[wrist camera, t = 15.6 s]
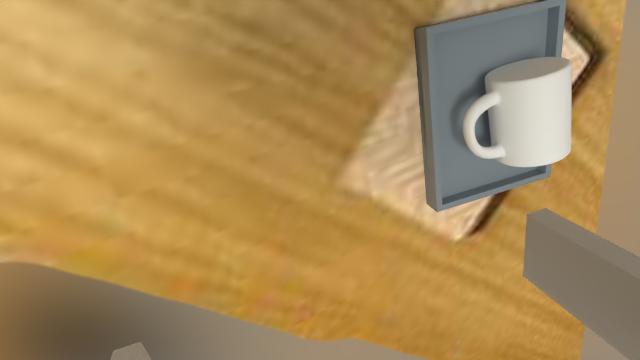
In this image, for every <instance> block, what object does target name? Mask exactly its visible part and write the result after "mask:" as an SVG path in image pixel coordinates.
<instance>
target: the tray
mask: <svg viewBox="0 0 640 360" xmlns="http://www.w3.org/2000/svg"><path fill="white" fill-rule="evenodd" d="M565 10H566V0H540V1H535V2H531V3H526V4H522V5H517V6H513V7H508V8H504V9H500V10H495V11H491V12H486V13H482V14H477V15H473V16H468V17H464V18H460V19H455V20H451V21H446V22H442V23H437V24H433V25H428V26H424V27H419V28H415V29H414V34H415V47H416V61H417V75H418V88H419V102H420V116H421V129H422V143H423V157H424V170H425V184H426V198H427V204H428V205H429V206H430V207H431V208H433V209H434V210H435V211H436V212H439V211H442V210H445V209H449V208H452V207H455V206H458V205H461V204H464V203H468V202H471V201H474V200H477V199H480V198H483V197H487V196H490V195H493V194H496V193H499V192H503V191H506V190H509V189H512V188H515V187H518V186H522V185H525V184H528V183H531V182H534V181H537V180H541V179H544V178H547V177H550V174H551V164H548V165H543V166H537V167H514V166H509V165H505V164H502V163H500V162H498V161H497V160H496V159H495V158H494V159H484V158H481V157H478V156H476V155H475V154H474V153H473V152H472V151H471V150H470V149H469V148H468V146H467V144H466V142H465V139H464V135H463V120H464V116H465V114H466V112H467V110H468V109H469V107H470V106H471V105H472V104H473V103H474V102H475V101H476V100H477V99H479V98H480V97H482V96H483V95H485V94H486V87H485V76H486V75H487V74H488V73H489V72H490V71H492V70H494V69H496V68H498V67H501V66H503V65H506V64H510V63H513V62H517V61H521V60H526V59H532V58H540V57H561V54H562V43H563V32H564V21H565ZM474 129H475V136H476V140H477V142H478V144H479V145H480V146H482V147H491V137H490V127H489V117H488V109H487V110H486V111H484V112H483V113H482V114H481V115H480V116H479V118H478V119H477V121H476V123H475V128H474Z"/></svg>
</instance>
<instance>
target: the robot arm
mask: <svg viewBox="0 0 640 360" xmlns="http://www.w3.org/2000/svg"><path fill="white" fill-rule="evenodd" d="M523 276H524V277H525V278H526V279H528V280H529V281H530V282H531V283H533V284H534V285H535V286H536V287H538V288H539V289H540V290H542V291H543V292H544V293H545V294H547V295H548V296H549V297H550V298H552V299H553V300H554V301H555V302H557V303H558V304H559V305H561V306H562V307H563V308H564V309H566V310H567V311H568V312H569V313H571V314H572V315H573V316H574V317H576V318H577V319H578V320H579V321H581V322H582V323H583V324H585V325H586V326H587V327H589V328H590V329H591V330H592V331H593V332H595V333H596V334H597V335H598V336H600V337H601V338H603V339H604V340H605V341H606V342H607V343H609V344H610V345H611V346H612V347H614V348H615V349H617V350H618V351H619V352H620V353H621V354H623V355H624V356H625V357H626V358H628V359H629V360H640V257H638V256H636V255H634V254H633V253H631V252H629V251H627V250H625V249H623V248H621V247H619V246H617V245H615V244H613V243H611V242H610V241H608V240H606V239H604V238H602V237H600V236H598V235H596V234H594V233H592V232H590V231H588V230H587V229H585V228H583V227H581V226H579V225H577V224H575V223H573V222H571V221H569V220H567V219H565V218H564V217H562V216H560V215H558V214H556V213H554V212H552V211H550V210H548V209H546V208H545V209H542V210H539V211H536V212H533V213H530V214H527V222H526V237H525V253H524V268H523ZM111 360H151V359H150V357H149V355H148V354H147V352H146V350H145V348H144V347H143V345H142V343H141V342H139V343H136V344H133V345H130V346H127V347H124V348H121V349H117V350H114V351H113V354H112V357H111Z"/></svg>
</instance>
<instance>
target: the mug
mask: <svg viewBox="0 0 640 360" xmlns="http://www.w3.org/2000/svg"><path fill="white" fill-rule="evenodd" d="M571 76H572V64H571V61H570V60H568V59H566V58H562V57H540V58H532V59H526V60H521V61H517V62H513V63H510V64H506V65H503V66H501V67H498V68H496V69H494V70H492V71H490V72H489V73H488V74H487V75H486V76H485V87H486V94H485V95H483V96H482V97H480V98H479V99H477V100H476V101H475V102H474V103H473V104H472V105H471V106H470V107H469V109H468V110H467V112H466V114H465V116H464V120H463V135H464V139H465V142H466V144H467V146H468V148H469V149H470V150H471V151H472V152H473V153H474V154H475V155H476V156H478V157H481V158H484V159H494V158H495V159H496V160H497V161H498V162H500V163H502V164H505V165H509V166H514V167H537V166H543V165H548V164H552V163H555V162H557V161H559V160H561V159H563V158H564V157H566V156H567V155H568V154H569V152H570V151H571ZM487 109H488V117H489V127H490V137H491V147H482V146H480V145H479V144H478V142H477V140H476V136H475V129H474V128H475V123H476V121H477V119H478V118H479V116H480V115H481V114H482V113H483V112H484V111H486V110H487Z"/></svg>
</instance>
